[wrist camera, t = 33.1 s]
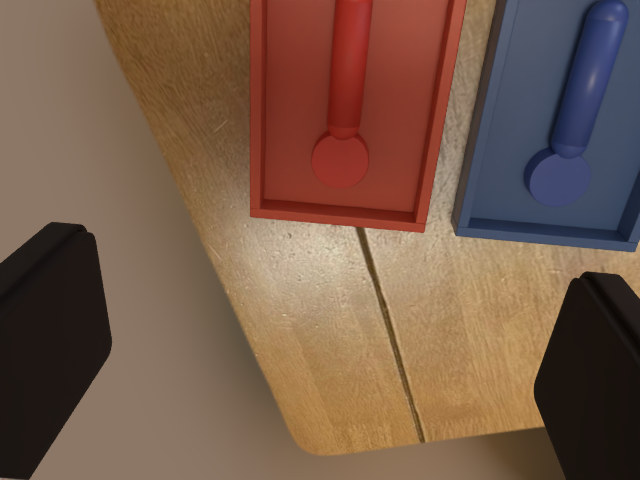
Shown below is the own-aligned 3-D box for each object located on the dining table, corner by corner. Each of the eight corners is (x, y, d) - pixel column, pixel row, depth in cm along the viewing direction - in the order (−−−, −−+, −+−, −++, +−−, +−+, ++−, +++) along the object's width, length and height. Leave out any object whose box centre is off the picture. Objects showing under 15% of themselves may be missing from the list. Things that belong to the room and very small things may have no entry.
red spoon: (323, -24, 25) (321, -23, 24) (388, -19, 25) (390, -17, 24) (311, 178, 30) (308, 190, 29) (365, 183, 30) (365, 195, 29)
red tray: (257, -74, 25) (249, -77, 23) (470, -59, 24) (477, -60, 23) (255, 204, 32) (249, 217, 30) (421, 219, 31) (424, 233, 30)
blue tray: (508, -56, 24) (518, -57, 23) (728, -40, 24) (755, -40, 22) (450, 221, 31) (455, 236, 30) (620, 237, 31) (634, 252, 29)
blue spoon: (571, -6, 25) (586, -3, 23) (639, 0, 25) (658, 2, 23) (517, 196, 30) (526, 209, 28) (573, 201, 30) (584, 214, 28)
